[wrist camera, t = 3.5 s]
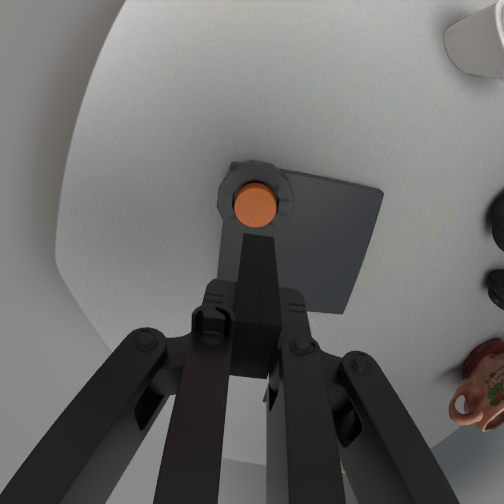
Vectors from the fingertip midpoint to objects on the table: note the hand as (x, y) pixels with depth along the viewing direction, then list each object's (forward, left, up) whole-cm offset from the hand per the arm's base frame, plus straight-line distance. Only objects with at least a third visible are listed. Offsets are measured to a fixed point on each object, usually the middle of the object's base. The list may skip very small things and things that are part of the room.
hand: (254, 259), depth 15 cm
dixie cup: (+18, +21, -12) cm, 30 cm away
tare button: (0, 0, -10) cm, 10 cm away
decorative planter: (+43, -21, -13) cm, 50 cm away
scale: (+4, -4, -12) cm, 14 cm away
